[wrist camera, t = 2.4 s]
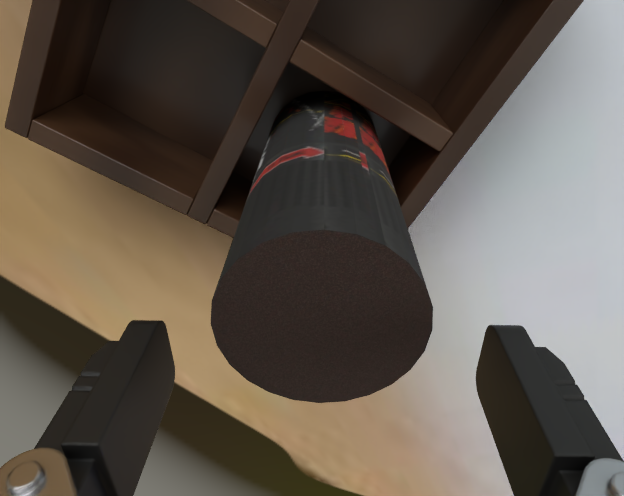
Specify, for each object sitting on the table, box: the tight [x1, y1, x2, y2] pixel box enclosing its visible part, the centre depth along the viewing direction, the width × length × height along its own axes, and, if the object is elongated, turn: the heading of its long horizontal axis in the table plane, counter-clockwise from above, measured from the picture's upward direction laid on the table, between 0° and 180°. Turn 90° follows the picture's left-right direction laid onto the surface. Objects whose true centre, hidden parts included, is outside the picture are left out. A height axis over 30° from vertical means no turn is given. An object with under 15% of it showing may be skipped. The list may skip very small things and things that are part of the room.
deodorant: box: [211, 91, 433, 403], centre depth 19 cm, size 6×6×15 cm
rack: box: [5, 0, 584, 238], centre depth 20 cm, size 18×18×5 cm
